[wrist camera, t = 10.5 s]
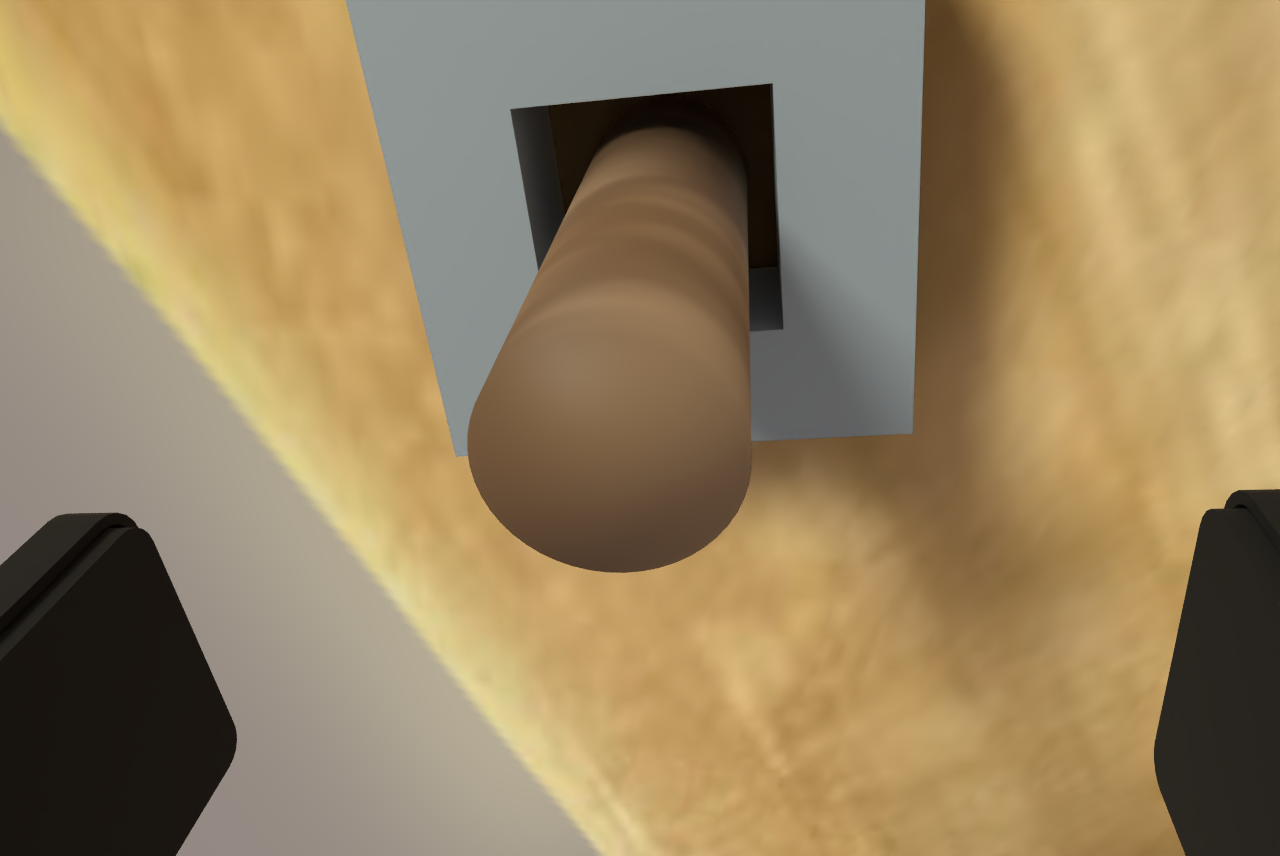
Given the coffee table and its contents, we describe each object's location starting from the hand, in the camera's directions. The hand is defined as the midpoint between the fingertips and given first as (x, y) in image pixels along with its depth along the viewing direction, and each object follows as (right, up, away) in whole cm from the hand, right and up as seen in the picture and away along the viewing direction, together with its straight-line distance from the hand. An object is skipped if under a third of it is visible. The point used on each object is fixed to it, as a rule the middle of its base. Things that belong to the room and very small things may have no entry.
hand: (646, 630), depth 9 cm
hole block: (0, +8, +13) cm, 15 cm away
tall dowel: (+1, +8, +13) cm, 15 cm away
